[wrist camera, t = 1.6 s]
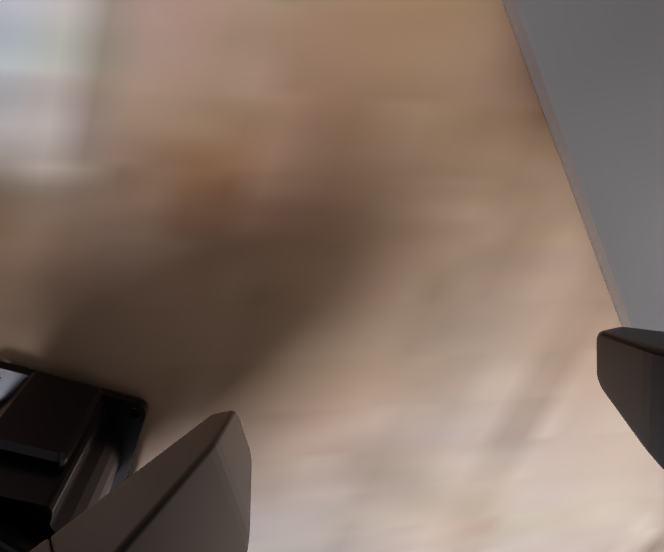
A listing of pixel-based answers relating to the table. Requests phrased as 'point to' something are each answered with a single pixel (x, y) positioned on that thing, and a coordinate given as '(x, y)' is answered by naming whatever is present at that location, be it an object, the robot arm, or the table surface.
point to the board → (607, 131)
